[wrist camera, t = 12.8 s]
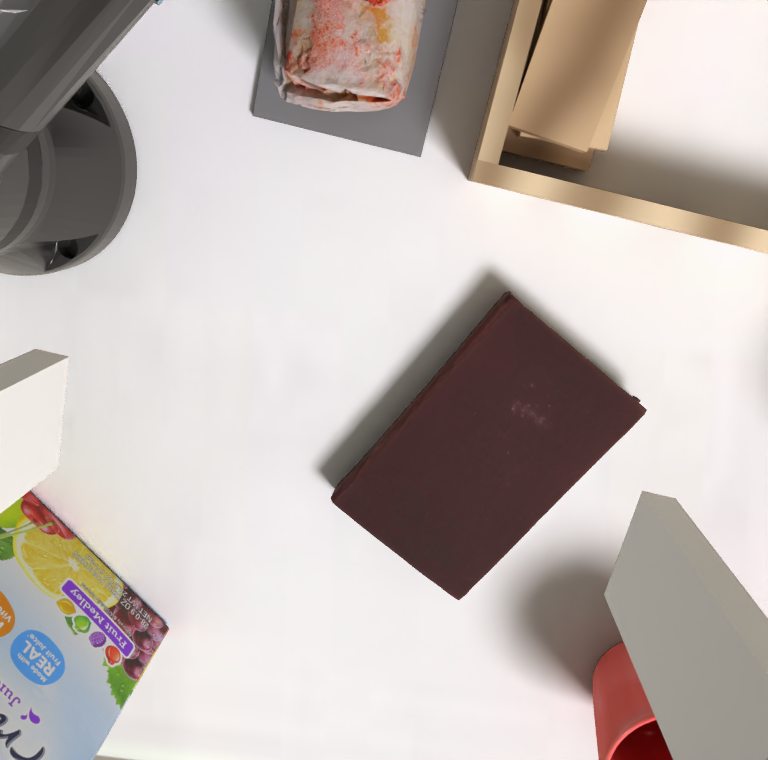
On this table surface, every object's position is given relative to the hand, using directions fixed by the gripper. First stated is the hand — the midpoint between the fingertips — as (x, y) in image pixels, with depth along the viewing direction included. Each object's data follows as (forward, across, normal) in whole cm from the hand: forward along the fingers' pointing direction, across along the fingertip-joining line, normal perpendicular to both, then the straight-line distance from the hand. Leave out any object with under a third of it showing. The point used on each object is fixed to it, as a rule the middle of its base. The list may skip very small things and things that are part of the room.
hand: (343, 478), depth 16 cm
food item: (+32, +6, -16) cm, 37 cm away
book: (+34, -8, +10) cm, 36 cm away
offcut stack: (+33, -7, -17) cm, 37 cm away
